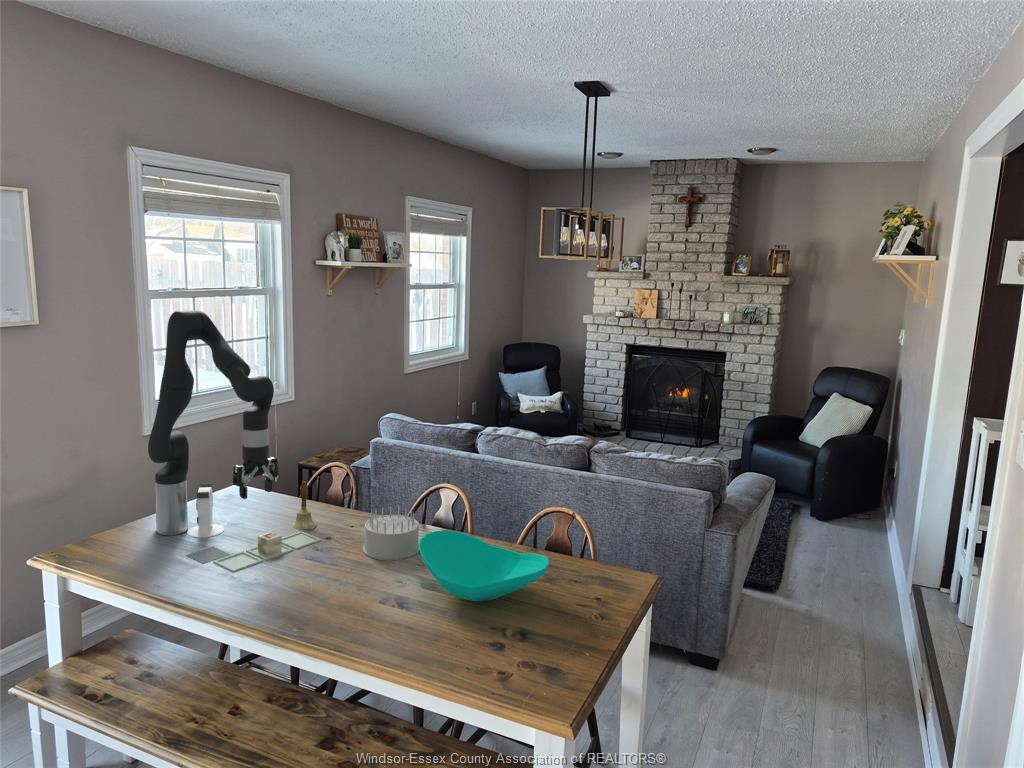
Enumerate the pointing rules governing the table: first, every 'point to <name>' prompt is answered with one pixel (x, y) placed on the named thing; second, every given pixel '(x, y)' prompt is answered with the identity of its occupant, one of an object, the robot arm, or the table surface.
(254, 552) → the tray
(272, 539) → the letter cube
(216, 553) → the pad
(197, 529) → the white post on base
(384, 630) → the table surface
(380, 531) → the cake
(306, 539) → the tray
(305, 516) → the hand bell
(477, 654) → the table surface
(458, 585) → the table top decor
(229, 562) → the tray
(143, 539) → the table surface
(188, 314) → the robot arm
